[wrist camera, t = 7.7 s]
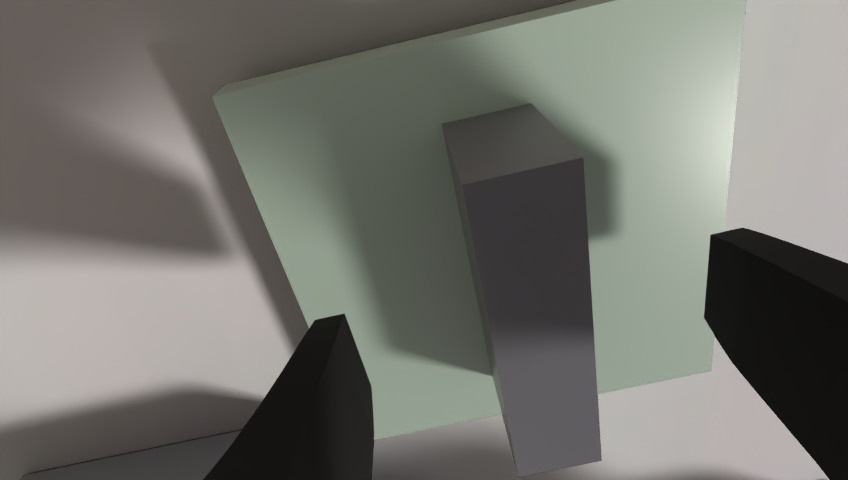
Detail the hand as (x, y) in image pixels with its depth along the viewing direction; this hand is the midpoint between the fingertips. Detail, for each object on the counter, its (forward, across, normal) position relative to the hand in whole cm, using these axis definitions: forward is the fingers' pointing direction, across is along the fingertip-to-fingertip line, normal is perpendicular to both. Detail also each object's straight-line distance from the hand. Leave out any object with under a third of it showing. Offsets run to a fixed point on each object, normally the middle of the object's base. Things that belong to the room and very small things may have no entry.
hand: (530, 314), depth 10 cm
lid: (+4, 0, 0) cm, 4 cm away
